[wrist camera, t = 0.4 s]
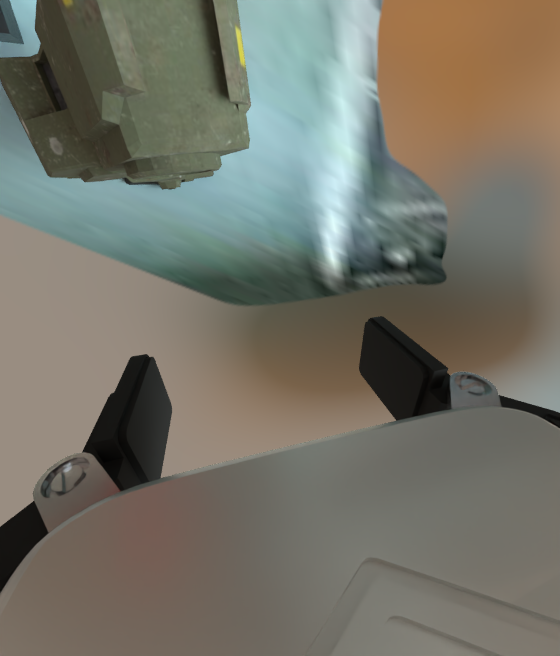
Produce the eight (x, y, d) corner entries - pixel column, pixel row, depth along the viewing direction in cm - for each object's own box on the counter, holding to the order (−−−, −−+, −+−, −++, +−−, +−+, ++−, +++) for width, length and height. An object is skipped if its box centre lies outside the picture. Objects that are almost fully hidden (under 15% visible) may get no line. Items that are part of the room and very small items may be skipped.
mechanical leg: (98, 199, 31) (-16, 220, 8) (66, 125, 28) (-352, -288, 4) (209, 183, 36) (354, 166, 12) (194, 118, 32) (361, -91, 8)
